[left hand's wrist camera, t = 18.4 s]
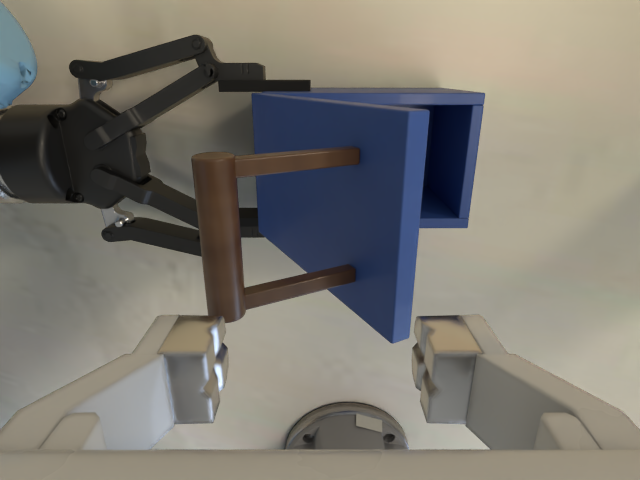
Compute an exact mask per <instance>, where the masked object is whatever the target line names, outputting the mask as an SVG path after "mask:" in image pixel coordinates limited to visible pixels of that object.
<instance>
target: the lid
mask: <svg viewBox="0 0 640 480" xmlns="http://www.w3.org/2000/svg"><path fill="white" fill-rule="evenodd" d="M252 113H253V131H254V150H255V154H253V155H242V156H234V154H231V153H227V152H206V153H200V154H196V155H194V156H192V169H193V178H194V187H195V197H196V206H197V215H198V225H199V234H200V243H201V253H202V262H203V272H204V281H205V290H206V300H207V309H208V316H223V318H224V320H225V323H229V322H234V321H237V320H239V319H240V318H242V317H243V316H244V315H245V312H246V310H247V309H251V308H255V307H259V306H263V305H266V304H270V303H274V302H278V301H282V300H286V299H290V298H294V297H298V296H302V295H306V294H310V293H314V292H317V291H321V290H325V289H327V290H329V291H330V292H331V293H332V294H333V295H335V296H336V297H337V298H338V299H339V300H340V301H342V302H343V303H344V304H345V305H346V306H348V307H349V308H350V309H351V310H352V311H354V312H355V313H356V314H357V315H358V316H359V317H361V318H362V319H363V320H364V321H365V322H367V323H368V324H369V325H370V326H371V327H373V328H374V329H375V330H376V331H377V332H378V333H380V334H381V335H382V336H383V337H384V338H386V339H387V340H388V341H389V342H390V343H396V342H399V341H402V340H404V339H407V338H409V334H410V323H411V312H412V301H413V290H414V279H415V268H416V257H417V246H418V235H419V224H420V213H421V201H422V190H423V179H424V168H425V157H426V146H427V135H428V124H429V113H430V112H429V110H425V109H415V108H406V107H396V106H386V105H376V104H367V103H357V102H347V101H337V100H328V99H318V98H308V97H299V96H289V95H279V94H269V93H252ZM250 176H256V188H257V206H258V225H259V232H260V233H261V234H262V235H263V236H264V237H266V238H267V239H268V240H269V241H270V242H272V243H273V244H274V245H275V246H276V247H278V248H279V249H280V250H281V251H282V252H283V253H285V254H286V255H287V256H288V257H289V258H291V259H292V260H293V261H294V262H295V263H297V264H298V265H299V266H300V267H301V268H302V269H304V270H305V271H306V272H307V274H302V275H298V276H294V277H289V278H285V279H281V280H276V281H272V282H268V283H263V284H259V285H255V286H250V287H246V288H244V276H243V262H242V247H241V233H240V219H239V204H238V190H237V178H241V177H250Z"/></svg>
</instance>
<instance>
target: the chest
mask: <svg viewBox="0 0 640 480" xmlns="http://www.w3.org/2000/svg"><path fill="white" fill-rule="evenodd" d="M261 93H269V94H279V95H289V96H299V97H308V98H318V99H328V100H337V101H347V102H357V103H367V104H376V105H386V106H396V107H406V108H415V109H425V110H429V112H430V113H429V124H428V135H427V146H426V157H425V168H424V179H423V190H422V201H421V213H420V224H419V228H467V227H468V220H469V219H468V218H469V211H470V204H471V196H472V189H473V181H474V174H475V166H476V159H477V151H478V144H479V136H480V129H481V121H482V114H483V104H484V99H485V93H480V92H471V91H463V90H454V89H446V88H311V90H310V91H264V92H261Z"/></svg>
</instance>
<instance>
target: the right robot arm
mask: <svg viewBox="0 0 640 480" xmlns="http://www.w3.org/2000/svg"><path fill="white" fill-rule="evenodd" d="M192 59H196V61H197V63H198V66H199V67H198V68H196V69H195V70H193V71H191V72H190V73H188V74H187V75H185V76H183V77H182V78H180V79H178V80H177V81H175V82H174V83H172V84H170V85H169V86H167V87H166V88H164V89H162V90H161V91H159V92H157V93H156V94H154V95H153V96H151V97H149V98H148V99H146V100H144V101H143V102H141V103H140V104H138V105H136V106H135V107H133V108H131V109H129V110H127V111H125V112H123V113H119V112H118V111H116V110H115V109H113V108H112V107H110V106H109V105H107V104H106V103H104V102H103V101H101V100H99V96H100V94H101V92H103V91H107V90H109V89H110V88H111V87H112V80H119V79H126V78H130V77H133V76H137V75H140V74H144V73H147V72H150V71H154V70H157V69H161V68H164V67H168V66H171V65H174V64H178V63H181V62H185V61H188V60H192ZM69 69H70V72H71V74H72V75H73V76H74V77H76V78H78V84H79V94H80V99H78V100H77V101H75V102H74V103H72V104H69V105H16V106H10V105H12V100H14V99H15V98H16V97H17V96H18V95H20V94H21V93H22V92H23V91H25V90H26V89H27V88H28V87H29V86H30V85H31V84H32V83H33V81H34V80H35V77H36V75H37V60H36V56H35V53H34V50H33V47H32V45H31V43H30V41H29V39H28V37H27V35H26V33H25V32H24V30H23V29H22V27H21V26H20V24H19V23H18V22H17V20H16V19H15V18H14V16H13V15H12V14H11V13H10V11H9V10H8V9H7V8H6V7H5V6H4V5H3V4H2V3H1V1H0V203H24V202H29V203H87V204H90V205H93V206H95V207H97V208H100V209H101V211H102V214H103V218H104V221H105V225H106V228H105V229H103V230H102V233H101V234H102V237H103V239H104V240H106V241H108V242H115V241H126V240H133V241H137V242H142V243H146V244H150V245H154V246H159V247H163V248H167V249H172V250H176V251H180V252H184V253H189V254H193V255H197V256H202V253H201V243H200V234H199V230H195V229H191V228H187V227H183V226H178V225H174V224H170V223H166V222H162V221H158V220H153V219H149V218H143V217H134V214H133V213H131V212H128V211H123V210H121V209H120V208H119V207H118V203H119V202H120V201H122V200H123V199H124V198H125V197H128V198H130V199H132V200H134V201H136V202H138V203H141V204H148V205H150V206H153V207H155V208H157V209H159V210H161V211H163V212H165V213H167V214H169V215H171V216H173V217H175V218H177V219H180V220H182V221H184V222H186V223H188V224H190V225H192V226H194V227H196V228H198V229H199V225H198V215H197V206H196V200H195V199H193V198H191V197H189V196H187V195H185V194H183V193H181V192H179V191H177V190H175V189H173V188H171V187H169V186H167V185H165V184H163V182H162V181H161V180H159V179H158V178H156V177H154V176H152V175H150V174H148V173H149V172H151V171H150V164H149V161H148V158H147V156H146V153H145V151H146V136H145V133H142V131H141V129H140V128H142V127H144V126H145V125H147V124H149V123H150V122H152V121H153V120H154V119H156V118H157V117H159V116H161V115H162V114H164V113H166V112H167V111H169V110H171V109H172V108H174V107H176V106H177V105H179V104H181V103H182V102H184V101H186V100H187V99H189V98H190V97H192V96H194V95H195V94H197V93H199V92H200V91H202V90H204V89H205V88H207V87H209V86H210V85H212V84H214V83H215V82H217V81H218V84H219V92H264V91H310V90H311V87H310V80H266V78H265V66H263V65H261V64H258V63H223V62H221V61H220V60H219V59H218V58H217V56H216V54H215V52H214V49H213V44H212V42H211V40H209V39H208V38H206V37H203V36H199V35H192V36H188V37H185V38H182V39H178V40H175V41H172V42H168V43H165V44H161V45H158V46H155V47H151V48H148V49H145V50H141V51H138V52H134V53H131V54H128V55H124V56H121V57H118V58H114V59H111V60H107V61H104V62H100V61H87V60H73V61H72V62H71V63H70V65H69ZM239 219H240V233H241V237H264V236H263V235H262V234H261V233H260V232H259V225H258V208H239ZM285 450H409V447H408V443H407V439H406V436H405V433H404V431H403V429H402V428H401V426H400V425H399V424H398V422H397V421H396V420H395V419H394V418H392V417H391V416H390V415H389V414H387V413H385V412H384V411H382V410H380V409H378V408H375V407H372V406H369V405H365V404H359V403H338V404H332V405H328V406H324V407H321V408H319V409H316V410H314V411H312V412H311V413H309V414H307V415H306V416H304V417H303V418H302V419H301V420H300V421H298V423H297V424H296V425H295V426H294V427H293V429H292V430H291V432H290V434H289V436H288V438H287V442H286V447H285Z"/></svg>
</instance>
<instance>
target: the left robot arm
mask: <svg viewBox="0 0 640 480" xmlns="http://www.w3.org/2000/svg"><path fill="white" fill-rule="evenodd" d="M225 334H226V328H225V320H224V318H223V316H200V315H160V316H157V317H156V319H155V320H154V322H153V323H152V325H151V326H150V328H149V329H148V331H147V332H146V334H145V335H144V337H143V338H142V339H141V341H140V342H139V344H138V345H137V347H136V348H135V350H134V351H133V353H132V354H124V355H122V356H121V357H119V358H117V359H115V360H113V361H111V362H109V363H107V364H105V365H103V366H102V367H100V368H98V369H96V370H94V371H92V372H90V373H88V374H86V375H85V376H83V377H81V378H79V379H77V380H75V381H73V382H71V383H69V384H67V385H66V386H64V387H62V388H60V389H58V390H56V391H54V392H52V393H50V394H49V395H47V396H45V397H43V398H41V399H39V400H37V401H35V402H33V403H31V404H30V405H28V406H26V407H24V408H22V409H20V410H18V411H17V412H16V413H15V414H14V415H13V417H12V418H11V419H10V420H9V421H8V422H7V423H6V424H5V425H4V426H3V428H2V429H1V430H0V480H640V430H639V428H638V427H637V426H636V425H635V424H634V423H633V422H632V421H631V420H630V418H629V417H628V416H627V415H626V414H625V413H624V412H623V411H621V410H620V409H618V408H616V407H614V406H612V405H610V404H608V403H606V402H604V401H603V400H601V399H599V398H597V397H595V396H593V395H591V394H589V393H587V392H586V391H584V390H582V389H580V388H578V387H576V386H574V385H572V384H570V383H569V382H567V381H565V380H563V379H561V378H559V377H557V376H555V375H553V374H552V373H550V372H548V371H546V370H544V369H542V368H540V367H538V366H536V365H535V364H533V363H531V362H529V361H527V360H525V359H523V358H521V357H519V356H518V355H516V354H508V353H507V351H506V350H505V348H504V347H503V345H502V344H501V343H500V341H499V340H498V338H497V337H496V335H495V334H494V332H493V331H492V329H491V328H490V327H489V325H488V324H487V322H486V321H485V319H484V318H483V316H481V315H454V316H418V317H416V321H415V327H414V334H415V336H416V339H417V343H416V345H415V346H414V347H413V348H412V373H413V379H414V383H415V386H416V388H417V389H419V390H420V391H421V397H420V403H421V406H422V409H423V412H424V415H425V418H426V421H427V423H443V424H466V427H467V428H468V429H469V430H471V431H472V432H473V433H474V434H475V435H476V436H477V437H478V438H479V439H480V440H481V441H482V442H483V443H484V444H485V445H487V446H488V447H489V448H490V449H491V450H149V449H150V448H152V447H153V446H154V445H155V444H156V443H157V442H158V441H159V440H160V439H161V438H162V437H163V436H164V435H165V434H166V433H168V432H169V431H170V430H171V429H172V428H173V427H174V424H196V423H213V422H214V418H215V415H216V412H217V409H218V406H219V403H220V397H219V391H220V390H221V389H223V388H224V386H225V383H226V379H227V372H228V348H227V347H226V346H225V345H224V343H223V339H224V336H225Z"/></svg>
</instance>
